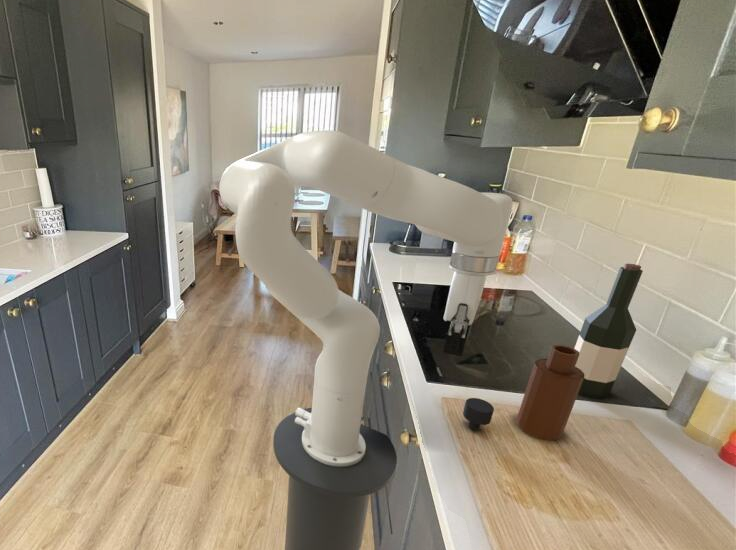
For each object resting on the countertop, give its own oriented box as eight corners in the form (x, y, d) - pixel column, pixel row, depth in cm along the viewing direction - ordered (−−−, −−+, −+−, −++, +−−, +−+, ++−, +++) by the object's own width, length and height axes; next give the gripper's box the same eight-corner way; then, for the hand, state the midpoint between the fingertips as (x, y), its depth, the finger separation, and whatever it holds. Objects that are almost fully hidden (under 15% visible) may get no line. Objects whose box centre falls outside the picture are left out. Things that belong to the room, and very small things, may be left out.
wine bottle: (558, 387, 93) (602, 265, 82) (566, 374, 98) (608, 257, 87) (605, 403, 87) (660, 274, 76) (611, 388, 92) (663, 265, 81)
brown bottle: (513, 429, 80) (539, 351, 73) (518, 411, 85) (542, 337, 78) (560, 446, 76) (591, 364, 69) (562, 426, 81) (591, 348, 74)
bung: (457, 428, 81) (463, 406, 79) (463, 416, 84) (468, 395, 82) (484, 438, 78) (491, 415, 76) (489, 426, 81) (496, 404, 79)
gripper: (455, 249, 82) (439, 323, 88) (445, 271, 69) (428, 357, 75) (498, 253, 78) (478, 331, 85) (496, 278, 65) (473, 368, 71)
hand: (454, 343), depth 80 cm, fingers open, 9 cm apart
